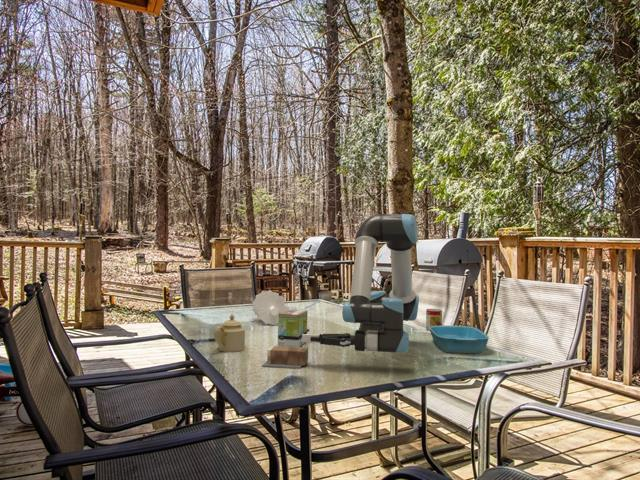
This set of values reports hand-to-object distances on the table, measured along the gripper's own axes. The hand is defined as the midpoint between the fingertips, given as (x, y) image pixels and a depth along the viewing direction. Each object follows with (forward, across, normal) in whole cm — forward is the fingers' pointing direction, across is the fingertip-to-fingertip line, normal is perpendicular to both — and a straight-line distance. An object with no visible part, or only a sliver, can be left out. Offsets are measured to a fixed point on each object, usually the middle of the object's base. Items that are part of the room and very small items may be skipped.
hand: (302, 337), depth 176 cm
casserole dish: (-62, +45, -10) cm, 78 cm away
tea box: (+11, +34, -10) cm, 37 cm away
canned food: (-54, +75, -10) cm, 93 cm away
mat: (+7, 0, -10) cm, 12 cm away
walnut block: (-1, 0, -7) cm, 7 cm away
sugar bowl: (+34, +17, -10) cm, 40 cm away
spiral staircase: (+36, +87, -10) cm, 95 cm away
